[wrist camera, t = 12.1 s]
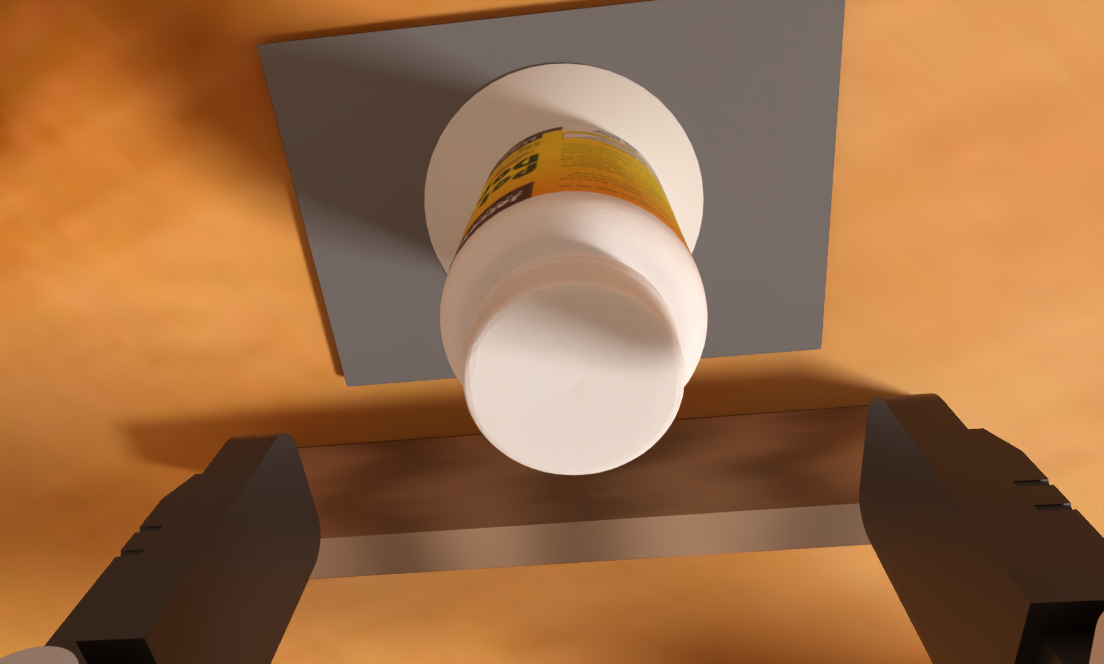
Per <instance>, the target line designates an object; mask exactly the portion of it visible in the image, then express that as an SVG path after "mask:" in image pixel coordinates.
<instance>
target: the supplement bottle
mask: <svg viewBox="0 0 1104 664" xmlns="http://www.w3.org/2000/svg"><path fill="white" fill-rule="evenodd" d="M707 318H708V315H707V303H706V296H705V292H704V287H703V283H702V280H701V277H700V274H699V271H698V268H697V266H696V264H695V261H694V259H693V257H692V255H691V252H690V250H689V248H688V246H687V244H686V241H685V239H684V237H683V234H682V232H681V230H680V227H679V225H678V223H677V220H676V218H675V215H674V213H673V210H672V208H671V206H670V204H669V201H668V199H667V196H666V194H665V192H664V190H663V187H662V185H661V183H660V181H659V179H658V177H657V175H656V173H655V171H654V169H653V168H652V166H651V165H650V163H649V162H648V161H647V160H646V159H645V157H644V156H643V155H642V154H641V153H640V152H639V151H638V150H637V149H636V148H635V147H633V146H632V145H631V144H629V143H628V142H626V141H625V140H623V139H622V138H620V137H618V136H616V135H614V134H612V133H610V132H608V131H605V130H602V129H599V128H594V127H589V126H581V125H566V126H558V127H552V128H548V129H545V130H542V131H539V132H536V133H534V134H532V135H530V136H528V137H526V138H525V139H523V140H521V141H520V142H518V143H517V144H516V145H514V146H513V147H512V148H511V149H510V150H508V151H507V152H506V153H505V155H504V156H503V157H502V158H501V159H500V160H499V161H498V163H497V164H496V165H495V167H494V168H493V170H492V171H491V173H490V175H489V177H488V179H487V181H486V183H485V185H484V187H483V190H482V192H481V195H480V197H479V200H478V202H477V204H476V207H475V209H474V211H473V214H472V216H471V218H470V221H469V223H468V225H467V226H466V230H465V232H464V234H463V237H462V240H461V243H460V245H459V247H458V249H457V252H456V254H455V257H454V259H453V261H452V263H451V265H450V268H449V272H448V275H447V278H446V282H445V285H444V289H443V293H442V299H441V304H440V328H441V336H442V341H443V345H444V349H445V352H446V355H447V358H448V361H449V364H450V366H451V368H452V370H453V372H454V374H455V375H456V377H457V379H458V380H459V382H460V383H461V385H462V386H463V390H464V395H465V400H466V403H467V406H468V409H469V412H470V414H471V416H472V418H473V420H474V421H475V423H476V425H477V426H478V428H479V430H480V431H481V432H482V433H483V435H484V436H485V437H486V438H487V439H488V440H489V441H490V443H492V444H493V445H494V446H495V447H496V448H497V449H498V450H500V451H501V452H502V453H504V454H505V455H506V456H508V457H509V458H511V459H513V460H515V461H517V462H519V463H521V464H523V465H525V466H528V467H530V468H533V469H537V470H540V471H543V472H548V473H553V474H563V475H584V474H593V473H599V472H603V471H606V470H610V469H613V468H617V467H619V466H621V465H623V464H626V463H628V462H629V461H631V460H633V459H635V458H637V457H638V456H640V455H642V454H643V453H644V452H646V451H647V450H648V449H650V448H651V447H652V446H653V445H654V444H655V443H656V442H657V441H658V440H659V439H660V438H661V437H662V436H663V435H664V434H665V432H666V431H667V429H668V428H669V426H670V425H671V424H672V422H673V420H674V418H675V416H676V414H677V412H678V409H679V407H680V404H681V401H682V397H683V392H684V387H685V385H686V384H687V383H688V381H689V380H690V378H691V376H692V375H693V373H694V371H695V369H696V367H697V364H698V362H699V360H700V358H701V354H702V351H703V348H704V345H705V340H706V334H707Z"/></svg>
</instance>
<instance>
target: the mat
mask: <svg viewBox="0 0 1104 664" xmlns="http://www.w3.org/2000/svg"><path fill="white" fill-rule="evenodd" d="M844 9H845V0H650V1H641V2H632V3H623V4H614V5H605V6H596V7H587V8H578V9H569V10H560V11H551V12H543V13H534V14H525V15H516V16H507V17H498V18H489V19H480V20H471V21H462V22H453V23H444V24H436V25H427V26H418V27H409V28H400V29H391V30H382V31H373V32H364V33H355V34H346V35H337V36H329V37H320V38H311V39H302V40H293V41H284V42H275V43H266V44H260V45H257V48H258V52H259V56H260V60H261V63H262V67H263V71H264V75H265V79H266V82H267V86H268V90H269V94H270V97H271V101H272V105H273V109H274V113H275V116H276V120H277V124H278V128H279V131H280V135H281V139H282V143H283V146H284V150H285V154H286V158H287V162H288V165H289V169H290V173H291V177H292V180H293V184H294V188H295V192H296V196H297V199H298V203H299V207H300V211H301V214H302V218H303V222H304V226H305V230H306V233H307V237H308V241H309V245H310V248H311V252H312V256H313V260H314V263H315V267H316V271H317V275H318V279H319V282H320V286H321V290H322V294H323V297H324V301H325V305H326V309H327V313H328V316H329V320H330V324H331V328H332V331H333V335H334V339H335V343H336V347H337V350H338V354H339V358H340V362H341V365H342V369H343V373H344V377H345V381H346V384H347V387H348V386H361V385H373V384H386V383H398V382H411V381H423V380H436V379H449V378H457V377H456V375H455V374H454V372H453V370H452V368H451V366H450V364H449V361H448V358H447V355H446V352H445V349H444V345H443V341H442V336H441V328H440V304H441V299H442V293H443V289H444V285H445V282H446V278H447V275H448V272H449V268H450V265H451V263H452V261H453V259H454V257H455V254H456V252H457V249H458V247H459V245H460V243H461V240H462V237H463V234H464V232H465V230H466V226H467V225H468V223H469V221H470V218H471V216H472V214H473V211H474V209H475V207H476V204H477V202H478V200H479V197H480V195H481V192H482V190H483V187H484V185H485V183H486V181H487V179H488V177H489V175H490V173H491V171H492V170H493V168H494V167H495V165H496V164H497V163H498V161H499V160H500V159H501V158H502V157H503V156H504V155H505V153H506V152H507V151H508V150H510V149H511V148H512V147H513V146H514V145H516V144H517V143H518V142H520V141H521V140H523V139H525V138H526V137H528V136H530V135H532V134H534V133H536V132H539V131H542V130H545V129H548V128H552V127H558V126H566V125H581V126H589V127H594V128H599V129H602V130H605V131H608V132H610V133H612V134H614V135H616V136H618V137H620V138H622V139H623V140H625V141H626V142H628V143H629V144H631V145H632V146H633V147H635V148H636V149H637V150H638V151H639V152H640V153H641V154H642V155H643V156H644V157H645V159H646V160H647V161H648V162H649V163H650V165H651V166H652V168H653V169H654V171H655V173H656V175H657V177H658V179H659V181H660V183H661V185H662V187H663V190H664V192H665V194H666V196H667V199H668V201H669V204H670V206H671V208H672V210H673V213H674V215H675V218H676V220H677V223H678V225H679V227H680V230H681V232H682V234H683V237H684V239H685V241H686V244H687V246H688V248H689V250H690V252H691V255H692V257H693V259H694V261H695V264H696V266H697V268H698V271H699V274H700V277H701V280H702V283H703V287H704V292H705V296H706V303H707V315H708V318H707V334H706V340H705V345H704V348H703V351H702V354H701V358H713V357H725V356H738V355H750V354H763V353H776V352H788V351H801V350H813V349H821V342H822V328H823V313H824V299H825V284H826V270H827V255H828V241H829V226H830V212H831V197H832V183H833V168H834V154H835V139H836V125H837V111H838V96H839V82H840V67H841V53H842V38H843V24H844Z"/></svg>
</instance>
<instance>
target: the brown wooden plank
mask: <svg viewBox="0 0 1104 664" xmlns="http://www.w3.org/2000/svg"><path fill="white" fill-rule="evenodd" d="M868 409H869V406H858V407H845V408H831V409H818V410H804V411H791V412H777V413H764V414H750V415H737V416H723V417H710V418H696V419H683V420H673V422H672V424H671V425H670V426H669V428H668V429H667V431H666V432H665V434H664V435H663V436H662V437H661V438H660V439H659V440H658V441H657V442H656V443H655V444H654V445H653V446H652V447H651V448H650V449H648V450H647V451H646V452H644V453H643V454H642V455H640V456H638V457H637V458H635V459H633V460H631V461H629V462H628V463H626V464H623V465H621V466H619V467H617V468H613V469H610V470H606V471H603V472H599V473H593V474H584V475H563V474H553V473H548V472H543V471H540V470H537V469H533V468H530V467H528V466H525V465H523V464H521V463H519V462H517V461H515V460H513V459H511V458H509V457H508V456H506V455H505V454H504V453H502V452H501V451H500V450H498V449H497V448H496V447H495V446H494V445H493V444H492V443H490V441H489V440H488V439H487V438H486V437H485V436H484V435H483V434H481V435H467V436H454V437H440V438H427V439H413V440H400V441H386V442H373V443H359V444H346V445H332V446H319V447H305V448H298V451H299V454H300V458H301V461H302V464H303V468H304V471H305V474H306V477H307V481H308V484H309V487H310V491H311V494H312V497H313V501H314V504H315V507H316V510H317V514H318V517H319V522H320V531H321V539H320V549H319V554H318V558H317V561H316V564H315V566H314V569H313V571H312V573H311V575H310V577H309V579H320V578H337V577H353V576H369V575H385V574H401V573H417V572H433V571H450V570H466V569H482V568H498V567H514V566H530V565H547V564H563V563H579V562H595V561H611V560H627V559H644V558H660V557H676V556H692V555H708V554H724V553H741V552H757V551H773V550H789V549H805V548H821V547H837V546H854V545H870V544H871V543H870V541H869V539H868V536H867V534H866V531H865V529H864V525H863V522H862V517H861V512H860V504H859V486H860V477H861V468H862V459H863V450H864V441H865V432H866V423H867V414H868Z"/></svg>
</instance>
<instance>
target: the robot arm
mask: <svg viewBox="0 0 1104 664" xmlns="http://www.w3.org/2000/svg"><path fill="white" fill-rule="evenodd" d="M859 504H860V512H861V517H862V522H863V525H864V529H865V531H866V534H867V536H868V539H869V541H870V543H871V545H872V546H873V548H874V550H875V552H876V554H877V556H878V558H879V560H880V562H881V564H882V566H883V568H884V570H885V572H886V574H887V576H888V577H889V579H890V581H891V583H892V585H893V587H894V589H895V591H896V593H897V595H898V597H899V599H900V601H901V603H902V605H903V606H904V608H905V610H906V612H907V614H908V616H909V618H910V620H911V622H912V624H913V626H914V628H915V630H916V632H917V634H918V636H919V637H920V639H921V641H922V643H923V645H924V647H925V649H926V651H927V653H928V655H929V657H930V659H931V661H932V663H933V664H1104V538H1103V537H1102V536H1101V535H1100V534H1099V533H1098V532H1097V531H1096V529H1095V528H1094V527H1093V526H1092V525H1091V524H1090V523H1089V522H1088V521H1087V520H1086V519H1085V518H1084V517H1083V516H1082V515H1081V513H1080V512H1079V511H1078V510H1077V509H1075V510H1072V508H1071V503H1070V502H1069V501H1068V500H1067V499H1066V497H1065V496H1064V495H1063V494H1062V493H1061V492H1060V491H1059V490H1058V489H1057V488H1056V487H1055V486H1054V485H1049V482H1048V478H1047V477H1046V476H1045V475H1044V474H1043V473H1042V472H1041V471H1040V470H1039V469H1038V468H1037V466H1036V465H1035V464H1034V463H1033V462H1032V461H1031V460H1030V459H1029V458H1028V457H1027V456H1026V455H1025V454H1024V453H1023V452H1022V451H1021V450H1019V449H1018V448H1016V447H1014V446H1012V445H1011V444H1009V443H1007V442H1006V441H1004V440H1002V439H1000V438H999V437H997V436H995V435H994V434H992V433H990V432H988V431H987V430H985V429H983V428H981V429H967V427H966V426H965V425H964V424H963V423H962V422H961V420H960V419H959V418H958V417H957V416H956V415H955V413H954V412H953V411H952V410H951V409H950V408H949V407H948V405H947V404H946V403H945V402H944V401H943V400H942V399H941V398H940V397H939V396H938V395H936V394H933V393H932V394H916V395H901V396H885V397H875V398H874V399H873V400H872V401H871V403H870V405H869V409H868V414H867V423H866V432H865V441H864V450H863V459H862V468H861V477H860V486H859ZM320 539H321V531H320V522H319V517H318V514H317V510H316V507H315V504H314V501H313V497H312V494H311V491H310V487H309V484H308V481H307V477H306V474H305V471H304V468H303V464H302V461H301V458H300V454H299V451H298V448H297V445H296V443H295V441H294V439H293V438H292V437H291V436H290V435H289V434H285V433H283V434H267V435H251V436H236V437H232V438H231V439H229V440H228V441H227V442H226V443H225V445H224V446H223V447H222V449H221V450H220V451H219V453H218V454H217V455H216V457H215V458H214V459H213V461H212V462H211V463H210V465H209V466H208V467H207V468H206V470H205V471H204V472H203V474H195V475H194V476H192V477H191V478H190V479H188V480H187V481H186V482H184V483H183V484H182V485H180V486H179V487H178V488H176V489H175V490H174V491H172V492H171V493H170V494H168V495H167V496H166V497H164V498H163V499H162V500H161V501H160V502H159V504H158V505H157V506H156V507H155V509H154V510H153V511H152V512H151V514H150V515H149V516H148V517H147V519H146V520H145V521H144V522H143V524H142V525H141V526H140V532H139V533H135V534H134V535H133V536H132V537H131V539H130V540H129V541H128V542H127V544H126V545H125V546H124V547H123V549H122V550H121V556H120V557H115V558H114V560H113V561H112V562H111V563H110V565H109V566H108V567H107V568H106V570H105V571H104V572H103V573H102V575H101V576H100V577H99V578H98V580H97V581H96V582H95V583H94V585H93V586H92V587H91V588H90V590H89V591H88V592H87V593H86V595H85V596H84V597H83V598H82V600H81V601H80V602H79V603H78V605H77V606H76V607H75V608H74V610H73V611H72V612H71V613H70V615H69V616H68V617H67V618H66V620H65V621H64V622H63V623H62V625H61V626H60V627H59V628H58V630H57V631H56V632H55V633H54V635H53V636H52V637H51V638H50V640H49V641H48V642H47V643H46V645H45V646H44V647H35V648H30V649H26V650H22V651H19V652H16V653H13V654H10V655H8V656H5V657H3V658H1V659H0V664H271V662H272V660H273V657H274V655H275V653H276V651H277V648H278V646H279V644H280V642H281V640H282V637H283V635H284V633H285V631H286V628H287V626H288V624H289V622H290V620H291V617H292V615H293V613H294V611H295V609H296V606H297V604H298V602H299V600H300V597H301V595H302V593H303V591H304V589H305V586H306V584H307V582H308V580H309V577H310V575H311V573H312V571H313V569H314V566H315V564H316V561H317V558H318V554H319V549H320Z"/></svg>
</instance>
